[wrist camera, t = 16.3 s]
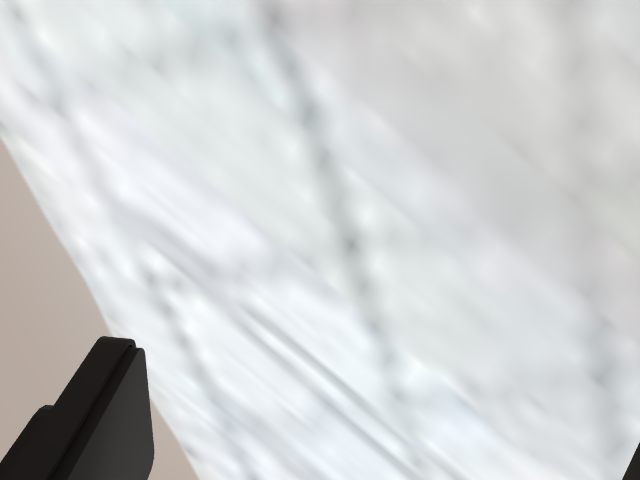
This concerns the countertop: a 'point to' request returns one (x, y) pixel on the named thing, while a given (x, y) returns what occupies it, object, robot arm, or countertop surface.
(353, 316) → the countertop surface
